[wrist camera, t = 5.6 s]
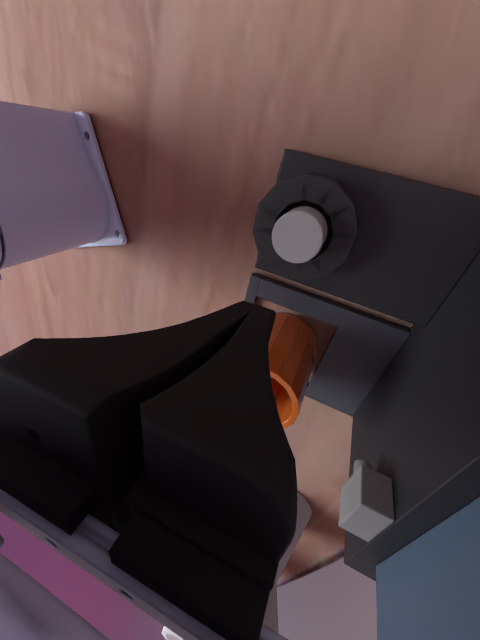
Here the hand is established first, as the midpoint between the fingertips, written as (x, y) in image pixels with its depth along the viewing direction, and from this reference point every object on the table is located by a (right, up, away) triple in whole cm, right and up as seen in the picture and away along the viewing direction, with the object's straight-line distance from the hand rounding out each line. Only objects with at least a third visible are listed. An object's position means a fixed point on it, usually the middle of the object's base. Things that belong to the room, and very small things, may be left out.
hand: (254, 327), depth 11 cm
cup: (+3, -1, +12) cm, 13 cm away
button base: (+7, +6, +7) cm, 11 cm away
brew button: (+3, +5, +5) cm, 8 cm away
